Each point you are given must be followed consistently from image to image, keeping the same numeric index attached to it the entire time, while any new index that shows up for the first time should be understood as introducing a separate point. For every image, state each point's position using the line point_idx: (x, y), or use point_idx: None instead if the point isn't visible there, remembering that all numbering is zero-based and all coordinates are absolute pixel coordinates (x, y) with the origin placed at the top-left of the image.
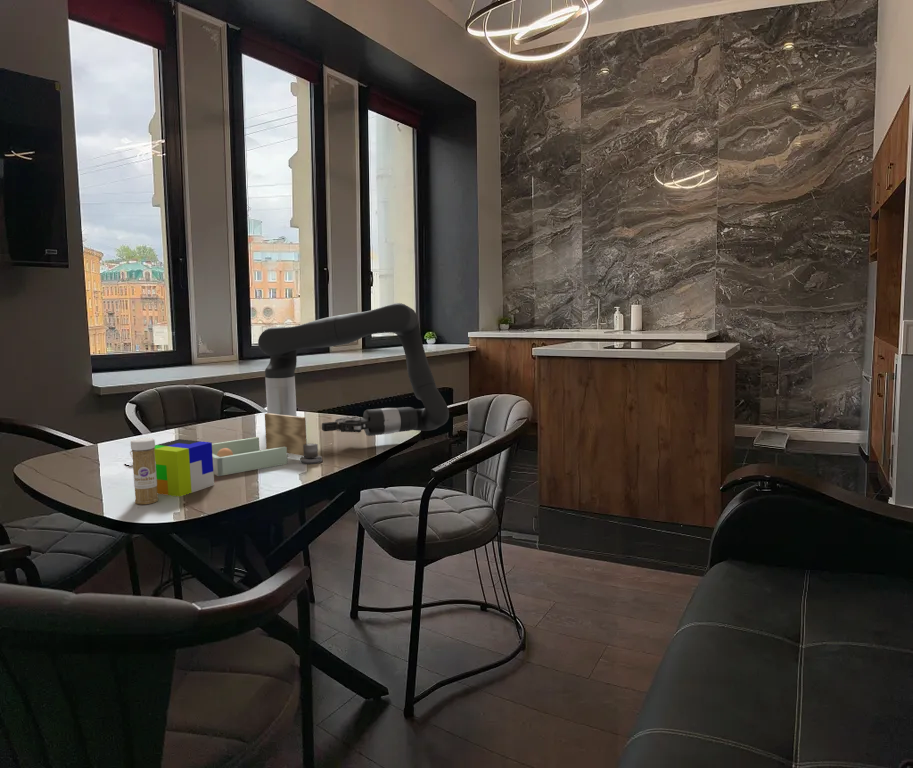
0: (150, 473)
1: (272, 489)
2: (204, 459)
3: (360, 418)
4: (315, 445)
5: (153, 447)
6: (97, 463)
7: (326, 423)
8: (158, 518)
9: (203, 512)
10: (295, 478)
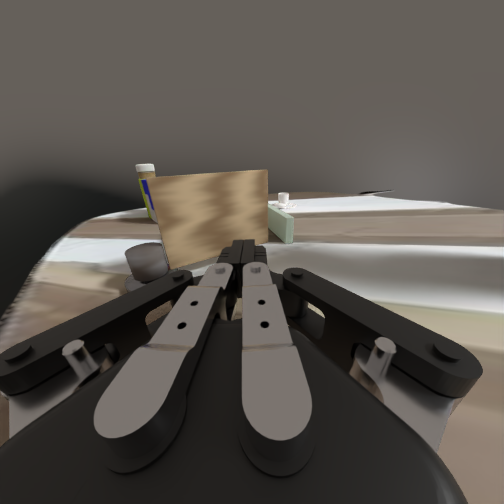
0: None
1: (78, 243)
2: (148, 195)
3: (98, 424)
4: (126, 253)
5: (138, 171)
6: (293, 199)
7: (232, 243)
8: (112, 215)
9: (90, 222)
10: (84, 258)
